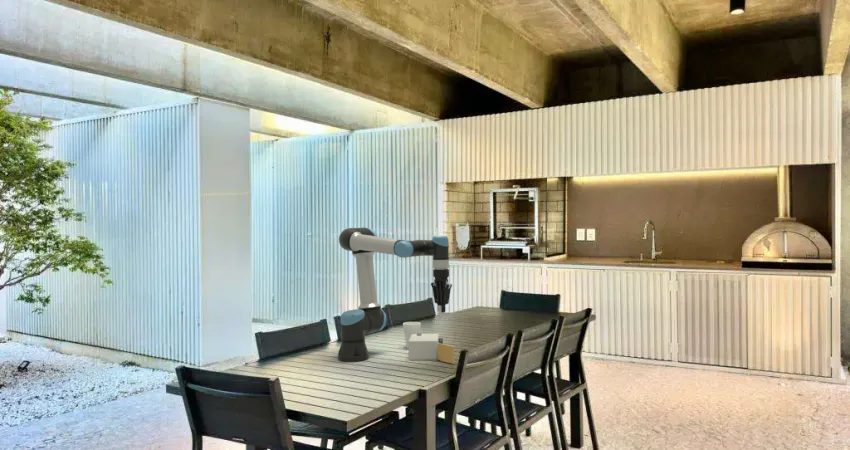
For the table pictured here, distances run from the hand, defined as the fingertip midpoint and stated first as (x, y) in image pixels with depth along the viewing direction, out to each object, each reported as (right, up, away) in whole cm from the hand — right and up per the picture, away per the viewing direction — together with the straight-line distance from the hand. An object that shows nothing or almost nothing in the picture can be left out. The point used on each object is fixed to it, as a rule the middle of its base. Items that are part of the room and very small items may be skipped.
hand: (441, 318), depth 282 cm
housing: (-8, -21, +18) cm, 29 cm away
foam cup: (-15, -22, +38) cm, 46 cm away
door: (+2, -20, +2) cm, 21 cm away
